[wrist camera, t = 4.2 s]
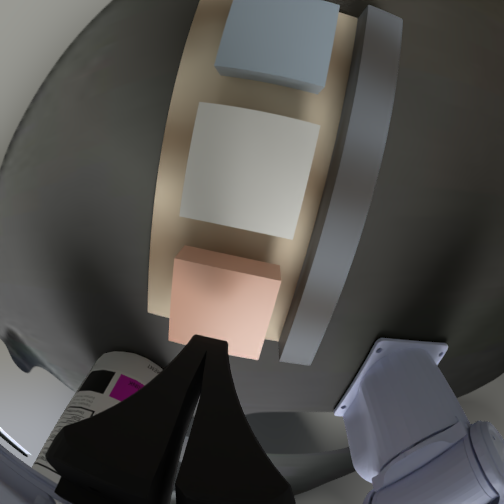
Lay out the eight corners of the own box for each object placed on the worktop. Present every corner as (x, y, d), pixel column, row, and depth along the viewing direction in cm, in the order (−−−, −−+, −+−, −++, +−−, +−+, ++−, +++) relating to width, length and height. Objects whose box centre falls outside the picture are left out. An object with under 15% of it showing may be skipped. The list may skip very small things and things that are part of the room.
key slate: (317, 94, 12) (324, 87, 10) (220, 75, 12) (214, 65, 10) (332, 19, 10) (339, 5, 9) (241, 1, 10) (237, -15, 8)
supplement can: (180, 359, 20) (120, 534, 6) (182, 415, 23) (147, 546, 9) (92, 335, 20) (2, 467, 6) (108, 394, 23) (54, 506, 9)
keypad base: (305, 336, 19) (310, 365, 16) (152, 304, 19) (136, 329, 16) (383, 36, 11) (402, 19, 9) (206, -2, 11) (195, -26, 8)
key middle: (289, 228, 14) (292, 240, 12) (189, 207, 13) (178, 216, 12) (313, 128, 12) (320, 125, 10) (208, 107, 12) (199, 101, 10)
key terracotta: (259, 340, 16) (258, 360, 14) (177, 322, 16) (168, 340, 14) (279, 265, 14) (281, 281, 13) (184, 245, 14) (174, 258, 12)
